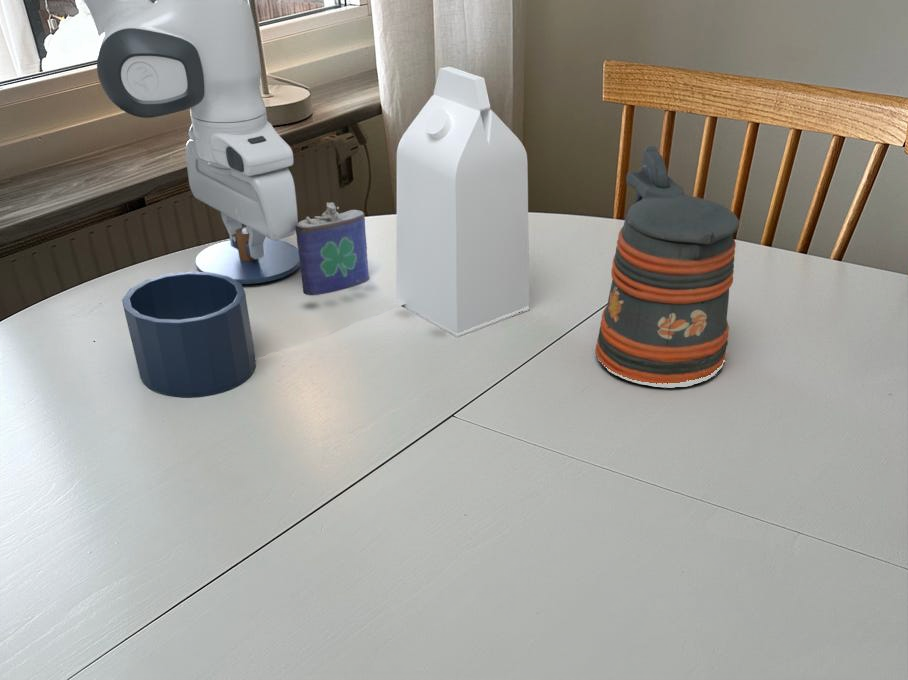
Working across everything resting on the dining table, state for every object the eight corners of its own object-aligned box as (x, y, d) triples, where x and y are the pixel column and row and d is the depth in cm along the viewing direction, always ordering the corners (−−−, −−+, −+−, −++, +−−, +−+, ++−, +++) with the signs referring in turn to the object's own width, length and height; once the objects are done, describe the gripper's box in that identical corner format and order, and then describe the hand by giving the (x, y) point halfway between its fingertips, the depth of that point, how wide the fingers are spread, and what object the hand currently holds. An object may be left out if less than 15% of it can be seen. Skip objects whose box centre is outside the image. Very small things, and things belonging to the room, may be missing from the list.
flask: (363, 277, 132) (357, 192, 124) (375, 285, 130) (369, 199, 122) (299, 294, 128) (289, 207, 120) (310, 303, 126) (300, 215, 119)
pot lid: (177, 263, 133) (170, 227, 130) (266, 238, 140) (261, 203, 136) (232, 298, 125) (226, 260, 122) (322, 269, 132) (319, 233, 129)
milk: (529, 309, 125) (539, 76, 107) (457, 337, 119) (455, 95, 102) (467, 278, 132) (467, 53, 114) (396, 302, 126) (384, 70, 108)
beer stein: (561, 323, 122) (573, 147, 109) (670, 307, 126) (695, 135, 112) (627, 399, 109) (650, 209, 95) (747, 379, 113) (786, 193, 99)
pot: (120, 366, 114) (101, 293, 108) (218, 332, 120) (205, 262, 114) (176, 409, 107) (159, 334, 101) (277, 372, 113) (267, 298, 107)
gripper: (165, 122, 126) (185, 234, 135) (254, 165, 115) (269, 284, 124) (210, 113, 129) (227, 223, 138) (301, 154, 118) (312, 270, 127)
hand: (248, 252), depth 131 cm, fingers closed on pot lid, 2 cm apart
